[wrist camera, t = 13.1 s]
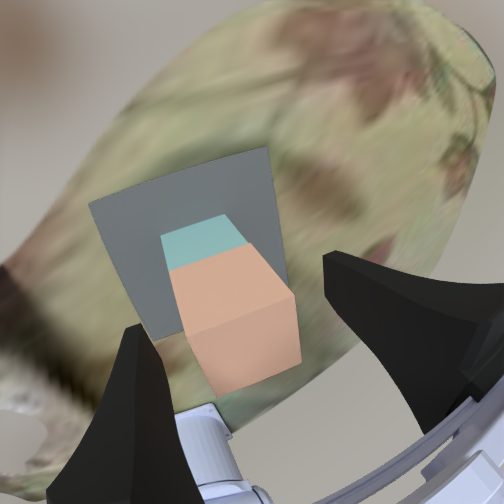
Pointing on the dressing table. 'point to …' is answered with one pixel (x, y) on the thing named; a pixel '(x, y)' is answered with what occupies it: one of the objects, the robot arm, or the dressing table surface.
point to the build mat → (182, 215)
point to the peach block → (237, 318)
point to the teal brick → (200, 241)
